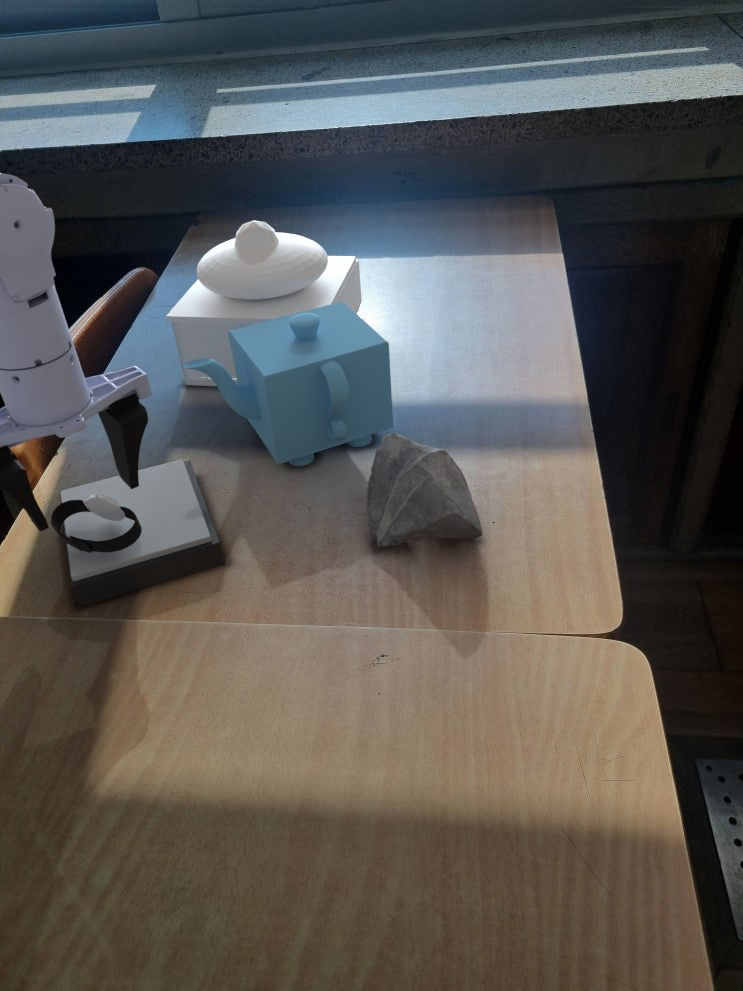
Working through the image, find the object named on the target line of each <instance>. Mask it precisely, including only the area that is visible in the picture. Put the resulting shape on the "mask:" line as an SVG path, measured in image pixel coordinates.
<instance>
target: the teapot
mask: <svg viewBox="0 0 743 991" xmlns="http://www.w3.org/2000/svg"><path fill="white" fill-rule="evenodd" d="M228 334H229V339H230V344H231V349H232V355H233V360H234V365H235V370H236V375H237V381H238V384H237V383H235V382H234V381H233V379H232V378H231V376H230V375H229V373H228V372H227V370H226V369H225V367H224V366H223V365H222V364H220V363H219V362H217V361H215V360H213V359H198V360H194V361H190V362H187V363H185V364H184V365H183V367H184V368H188V369H193V370H198V371H201V372H203V373H205V374H207V375H208V376H209V377H210V378H211V379H212V380H213V381H214V382H215V384H216V385H217V386H216V387H217V388H218V390H219V392H220V393H221V395H222V397H223V399H224V400H225V402H226V403H227V405H228V406H229V407H230V408H231V409H232V410H233V411H234V412H235V413H237V414H238V415H239V416H241V417H244V418H246V419H247V421H248V422H249V423H250V424H251V426H252V428H253V429H254V431H255V432H256V434H257V435H258V437H259V438H260V440H261V441H262V443H263V444H264V446H265V447H266V449H267V450H268V452H269V453H270V454H271V456H272V457H273V460H274V461H275V462H276V463H277V465H280V464H283V463H287V462H288V463H289V464H291V465H292V466H297V467H302V466H306V465H309V464H310V463H312V462H313V461H314V460H315V453H318V452H321V451H325V450H329V449H331V448H334V447H337V446H341V445H344V444H346V443H347V444H348V446H351V447H354V448H362V447H365V446H367V445H370V443H371V442H372V436H373V435H375V434H378V433H381V432H384V431H387V430H389V429H393V428H394V416H393V414H394V413H393V397H392V394H393V393H392V378H391V377H392V376H391V362H390V361H391V359H390V344H389V342H388V341H387V340H386V339H385V338H384V337H383V336H382V335H380V334H379V333H378V332H377V331H376V330H375V329H374V328H373V327H372V326H370V325H369V324H368V322H367V321H365V320H364V318H363V319H361V318H360V317H359V316H358V315H357V314H356V313H355V312H354V311H352V310H351V309H350V308H349V307H348V306H347V305H345V304H344V303H343V302H339V303H335V304H331V305H327V306H323V307H319V308H315V309H311V310H307V311H303V312H299V313H295V314H292V315H284V316H281V317H279V318H276V319H272V320H268V321H265V322H261V323H257V324H253V325H249V326H246V327H242V328H238V329H234V330H231V331H229V332H228ZM371 435H372V436H371Z"/></svg>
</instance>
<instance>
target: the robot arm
mask: <svg viewBox="0 0 743 991" xmlns="http://www.w3.org/2000/svg"><path fill="white" fill-rule="evenodd" d="M28 186H29V183H28V182H25V180H23V179H21V178H20V177H18V176H16V175H13V174H9V173H1V172H0V395H1V398H2V400H3V402H4V406H3V407H1V408H0V490H1V491H3V493H5V494H6V495H8V496H9V497H10V498H12V500H14V501H15V502H16V503H17V504H18V505H19V506H20V507H21V508H22V509H23V510H24V511H25V512H26V514H27V516H28V517H29V519H30V521H31V522H32V524H33V525H34V526H35V528H37V530H38V531H39V532H43V531H45V530H48V529H49V525H48V521H47V519H46V517H45V514H44V513H43V511H42V509H41V508H40V506H39V503H38V501H37V500H36V498H35V495H34V492H33V489H32V486H31V483H30V479H29V476H28V473H27V469H26V468H25V467H24V466H23V464H21V462H20V461H19V459H18V458H17V455H16V453H14V452H13V450H12V448H14V447H17V446H19V445H21V444H24V443H26V442H29V441H31V440H36V439H40V438H44V437H45V438H46V437H49V436H53V435H55V436H56V437H58V438H60V439H61V438H62V439H64V438H68V437H70V436H73V435H75V434H77V433H80V432H82V431H83V430H85V429H86V427H87V425H86V421H87V420H89V419H90V418H92V417H94V416H96V415H97V414H98V416H99V419H100V422H101V424H102V426H103V429H104V431H105V433H106V436H107V438H108V441H109V444H110V448H111V451H112V456H113V459H114V463H115V468H116V470H117V472H118V474H119V475H120V477H121V479H122V480H123V481H124V482H125V483H126V484H127V485H128V486H129V487H130V488H131V489H134V488H136V487H138V486H139V480H138V470H139V460H140V452H141V446H142V441H143V438H144V434H145V431H146V428H147V425H148V423H149V413H148V410H147V407H145V405H143V404H142V403H141V402H140V400H144V399H146V398H149V397H151V396H153V393H152V389H151V385H150V383H149V382H150V381H149V378H148V375H147V373H146V372H144V371H143V370H142V369H141V368H139V367H138V366H137V365H133V366H129V367H126V368H124V369H120V370H116V371H111V372H107V373H102V374H97V375H92V376H88V377H85V374H84V372H83V368H82V366H81V362H80V359H79V357H78V354H77V350H76V347H75V345H74V344H75V343H74V340H73V337H72V334H71V332H70V329H69V326H68V322H67V320H66V317H65V313H64V311H63V307H62V304H61V301H60V298H59V295H58V292H57V289H56V285H55V279H54V278H55V277H56V276H57V274H56V270H55V267H54V264H53V260H52V248H53V245H54V240H55V232H56V224H55V217H54V211H53V209H52V207H47V206H44V204H43V201H41V199H40V198H39V196H38V195H37V193H36V191H35V190H34V189H33V188H28ZM119 475H118V476H119Z"/></svg>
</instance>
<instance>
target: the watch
mask: <svg viewBox="0 0 743 991" xmlns="http://www.w3.org/2000/svg"><path fill="white" fill-rule="evenodd" d="M54 508H55V509H54V510H53V511H52V512H51V515H50V516H51V517H50V523H51V527H52V528H53V530H54V531H55V532H56V533H57V535H58V536H59V537H60V538H61V539H62V541H63V542H65V544H66V543H67V544H69V545H70V546H72V547H74V548H76V549H79V551H85V552H89V553H92V551H95V552H115V551H119V550H122V549H125V548H127V547H129V546H130V545H132V544H133V543H135V542H136V541H137V540H138V539H139V537H140V535H141V532H142V529H141V525H140V523H139V521H138V519H137V517H136V515H135V513H134V512H133V511H132V510H130V509H129V508H126V507H123V506H122V505H121V504H120V503H119V502H118V501H116V500H114V499H112V498H110V497H108V496H105V495H101V494H93V495H91V496H90V497H89V498H88V499H87V500H83V499H82V500H69V501H66V502H64V503H61V502H60V504H58V505H57V506H56V507H54ZM80 512H93V513H94V514H96V515H98V516H100V517H102V518H104V519H107V520H110V521H121V520H123V519H124V518H129V519H131V520H134V521H135V522H134V525H133V526H132V528H131V529H130V530H129V531H127V532H126V533H125V534H123V535H121V536H119V537H116V538H113V539H110V540H104V541H92V540H84V539H80V538H76V537H73V536H69V537H68V536H66V535H65V533H62V526H63V522H64V521H65V520H66V519H67V518H68V517H69V516H71V515H73V514H76V513H80Z"/></svg>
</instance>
